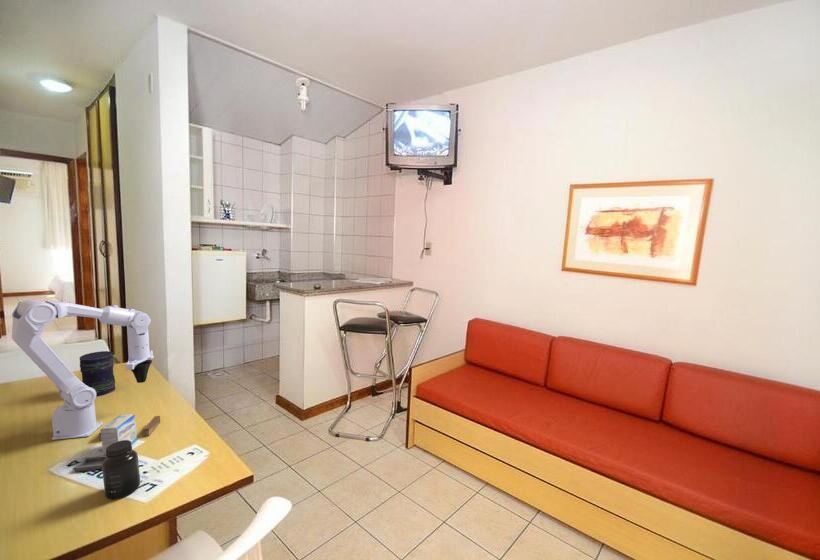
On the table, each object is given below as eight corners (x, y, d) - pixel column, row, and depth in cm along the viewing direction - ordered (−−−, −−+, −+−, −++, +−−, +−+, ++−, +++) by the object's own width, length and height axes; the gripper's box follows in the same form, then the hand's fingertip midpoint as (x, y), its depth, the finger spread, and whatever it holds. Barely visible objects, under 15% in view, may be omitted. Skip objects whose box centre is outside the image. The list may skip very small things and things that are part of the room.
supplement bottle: (118, 481, 90) (114, 437, 89) (146, 480, 91) (143, 436, 89) (97, 501, 83) (92, 454, 82) (127, 500, 84) (124, 453, 82)
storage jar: (119, 390, 140) (117, 354, 138) (87, 399, 132) (84, 361, 130) (110, 384, 145) (107, 349, 143) (78, 393, 137) (75, 356, 135)
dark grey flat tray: (74, 472, 93) (74, 468, 93) (85, 461, 97) (85, 457, 97) (114, 467, 95) (114, 463, 95) (123, 457, 99) (123, 453, 99)
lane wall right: (143, 436, 110) (143, 429, 109) (155, 423, 117) (154, 416, 117) (149, 436, 110) (148, 428, 110) (160, 422, 118) (160, 415, 117)
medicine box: (119, 456, 100) (117, 427, 99) (102, 457, 99) (99, 428, 98) (137, 440, 108) (135, 413, 106) (121, 441, 107) (119, 414, 106)
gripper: (142, 350, 117) (144, 389, 118) (161, 338, 131) (163, 373, 132) (117, 352, 115) (120, 391, 117) (139, 339, 129) (141, 374, 131)
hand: (141, 381), depth 124 cm, fingers closed
